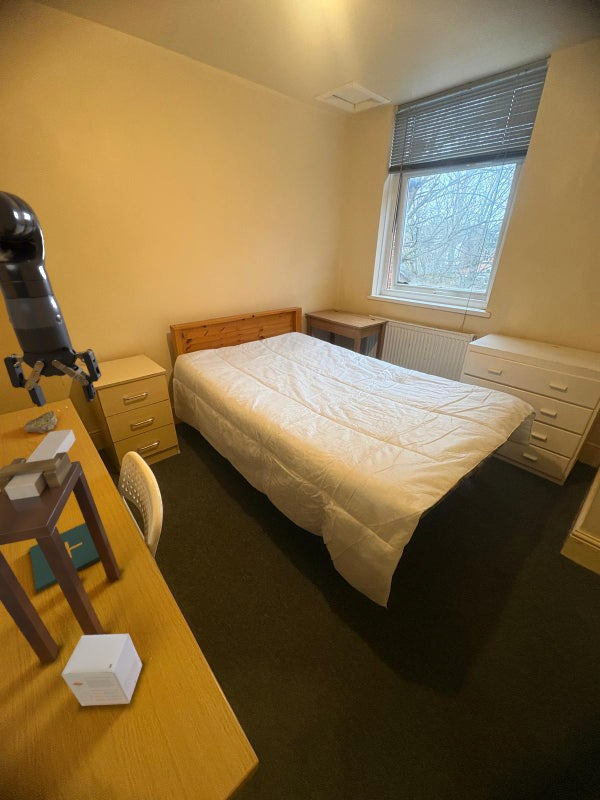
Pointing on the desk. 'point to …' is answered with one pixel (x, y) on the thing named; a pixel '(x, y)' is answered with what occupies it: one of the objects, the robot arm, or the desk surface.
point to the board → (78, 549)
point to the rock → (42, 423)
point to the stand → (50, 546)
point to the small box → (103, 669)
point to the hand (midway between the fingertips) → (66, 402)
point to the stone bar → (46, 450)
